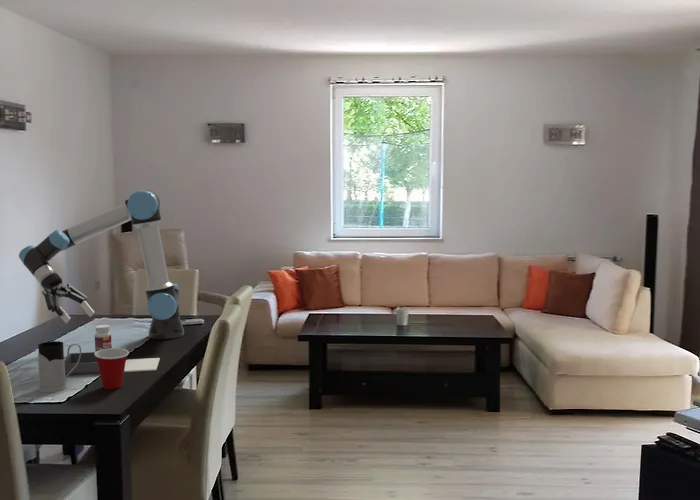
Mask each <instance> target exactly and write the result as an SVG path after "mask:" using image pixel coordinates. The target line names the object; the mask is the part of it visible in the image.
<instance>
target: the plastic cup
mask: <svg viewBox="0 0 700 500" xmlns="http://www.w3.org/2000/svg"><path fill="white" fill-rule="evenodd" d="M94 352H95V351H94ZM94 354H95V356H96V358H97V362H98V366H99V371H100V374H99V375H100V379H101V382H102V383H101V384H102V386H103V389H104V390H108V391H109V390H117V389H120V388H122V387H123V381H124V376H125V375H124V374H125V372H124V370H125V363H126V360H127V359H128V355H129V354H130V352H129V350H127V349H126V348H125V349H123V348H117V347H115V348H113V347H112V348H109V349H102V350H99V351H96V352H95V353H94Z"/></svg>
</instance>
